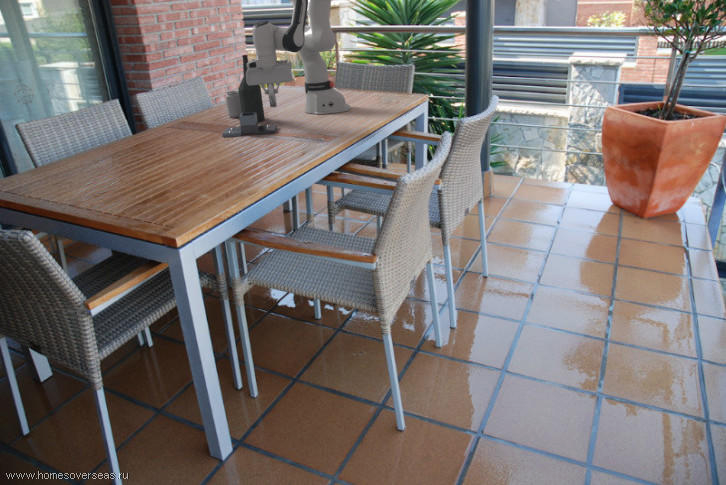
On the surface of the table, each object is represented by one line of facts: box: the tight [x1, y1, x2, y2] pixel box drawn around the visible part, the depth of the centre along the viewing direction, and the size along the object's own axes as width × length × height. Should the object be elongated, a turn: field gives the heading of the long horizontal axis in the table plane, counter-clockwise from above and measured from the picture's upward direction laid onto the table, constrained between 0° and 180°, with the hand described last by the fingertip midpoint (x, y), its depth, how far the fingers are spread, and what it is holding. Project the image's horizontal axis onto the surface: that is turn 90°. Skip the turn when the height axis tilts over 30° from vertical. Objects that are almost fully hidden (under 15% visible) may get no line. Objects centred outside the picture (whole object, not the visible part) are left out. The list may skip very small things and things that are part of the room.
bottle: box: [237, 54, 265, 123], centre depth 264 cm, size 10×10×30 cm
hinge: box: [221, 112, 278, 138], centre depth 249 cm, size 23×10×8 cm, turn 93°
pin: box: [266, 83, 278, 108], centre depth 253 cm, size 3×3×12 cm
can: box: [224, 90, 242, 119], centre depth 278 cm, size 8×8×12 cm
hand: (271, 93), depth 253 cm, fingers closed on pin, 3 cm apart
